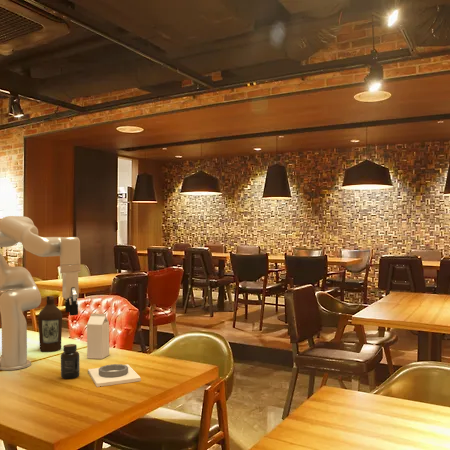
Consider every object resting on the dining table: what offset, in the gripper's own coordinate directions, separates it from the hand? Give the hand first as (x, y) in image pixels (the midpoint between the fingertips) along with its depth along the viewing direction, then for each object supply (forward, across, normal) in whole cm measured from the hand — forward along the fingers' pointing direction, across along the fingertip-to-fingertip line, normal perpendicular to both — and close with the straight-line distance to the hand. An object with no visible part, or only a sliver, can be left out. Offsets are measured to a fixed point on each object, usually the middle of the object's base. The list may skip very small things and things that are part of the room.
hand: (71, 313), depth 190 cm
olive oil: (+23, -47, -3) cm, 52 cm away
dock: (+24, +8, +14) cm, 29 cm away
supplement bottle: (+24, +1, -1) cm, 24 cm away
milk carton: (+24, -24, +14) cm, 36 cm away
